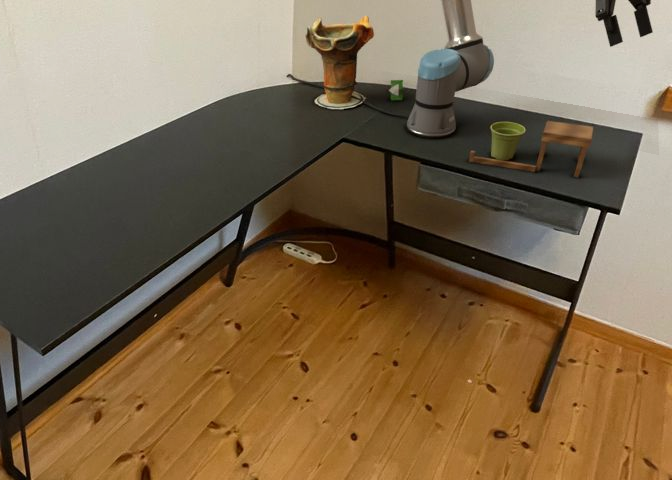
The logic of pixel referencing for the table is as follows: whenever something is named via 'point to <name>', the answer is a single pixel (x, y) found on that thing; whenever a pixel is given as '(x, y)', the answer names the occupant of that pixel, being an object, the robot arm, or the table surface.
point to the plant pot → (505, 139)
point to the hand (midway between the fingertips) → (631, 39)
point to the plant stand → (552, 133)
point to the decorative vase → (339, 59)
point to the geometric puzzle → (396, 90)
